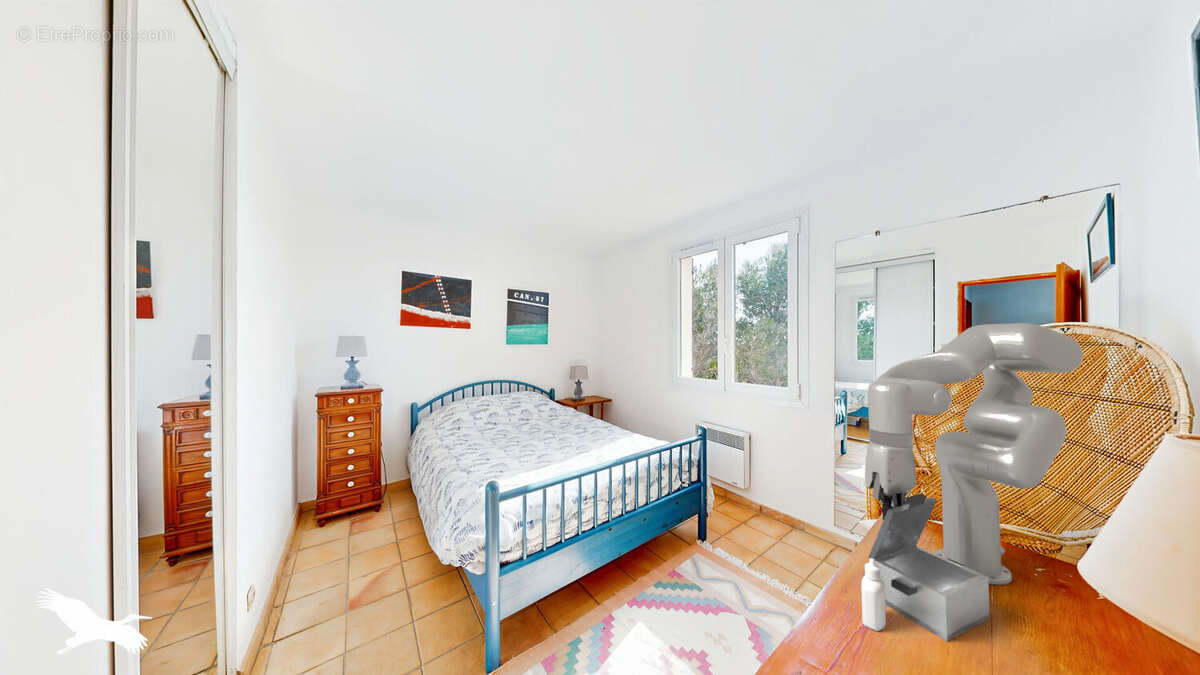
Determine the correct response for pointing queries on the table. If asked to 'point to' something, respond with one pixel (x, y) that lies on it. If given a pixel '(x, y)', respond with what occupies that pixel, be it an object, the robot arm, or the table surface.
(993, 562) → the robot arm
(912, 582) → the grey rectangular box
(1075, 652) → the table surface
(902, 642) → the table surface
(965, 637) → the table surface
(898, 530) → the lid
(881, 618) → the eye dropper bottle
